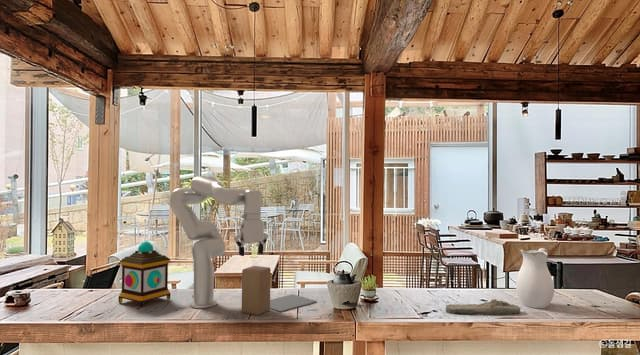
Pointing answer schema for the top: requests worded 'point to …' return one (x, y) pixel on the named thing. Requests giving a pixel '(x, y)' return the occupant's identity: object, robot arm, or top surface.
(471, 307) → the long grey stone
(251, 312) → the wooden block
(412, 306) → the top surface
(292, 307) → the mat
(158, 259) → the decorative lantern
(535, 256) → the pitcher
